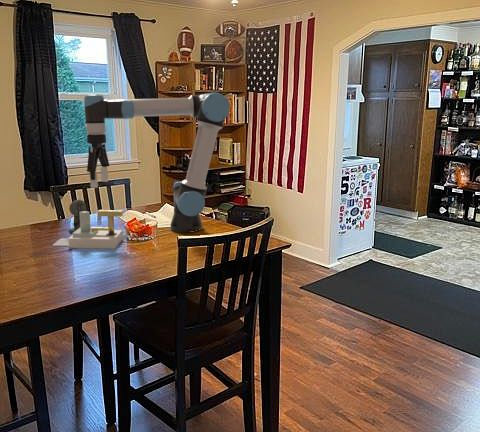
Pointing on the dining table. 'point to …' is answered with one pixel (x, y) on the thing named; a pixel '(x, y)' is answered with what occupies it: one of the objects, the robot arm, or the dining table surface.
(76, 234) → the cover
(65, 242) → the pad
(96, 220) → the dining table surface
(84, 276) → the dining table surface
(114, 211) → the key
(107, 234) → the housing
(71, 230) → the figurine
